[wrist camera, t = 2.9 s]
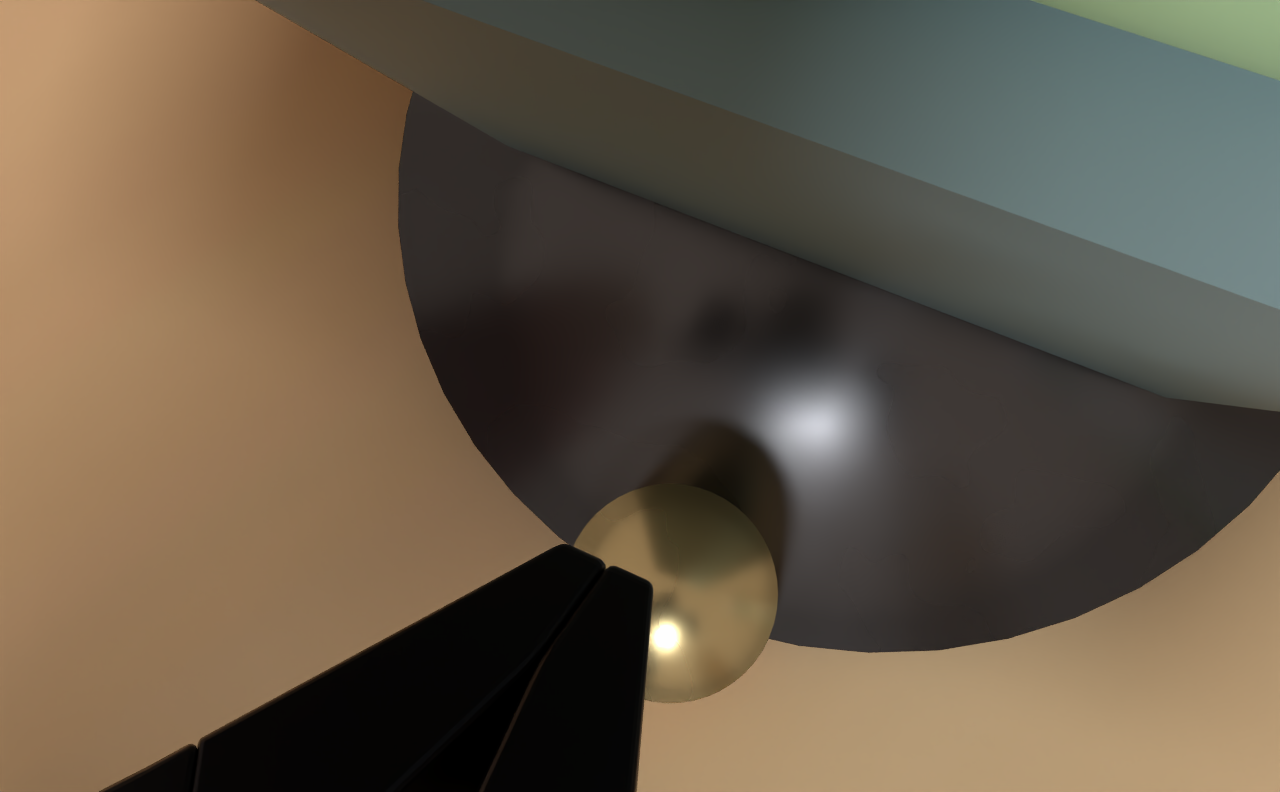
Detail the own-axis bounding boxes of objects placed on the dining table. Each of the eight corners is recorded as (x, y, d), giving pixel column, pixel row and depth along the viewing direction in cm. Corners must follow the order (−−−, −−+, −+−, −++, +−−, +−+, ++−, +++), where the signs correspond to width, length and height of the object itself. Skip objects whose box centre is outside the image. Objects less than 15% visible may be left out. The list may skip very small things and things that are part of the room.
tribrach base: (1129, 910, 15) (1193, 963, 13) (236, 488, 18) (155, 468, 15) (1470, -37, 17) (1581, -140, 15) (621, -287, 20) (600, -407, 17)
